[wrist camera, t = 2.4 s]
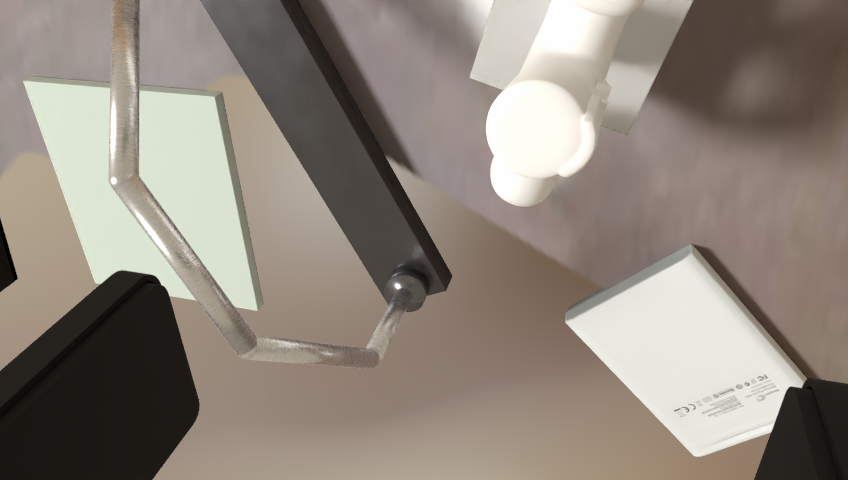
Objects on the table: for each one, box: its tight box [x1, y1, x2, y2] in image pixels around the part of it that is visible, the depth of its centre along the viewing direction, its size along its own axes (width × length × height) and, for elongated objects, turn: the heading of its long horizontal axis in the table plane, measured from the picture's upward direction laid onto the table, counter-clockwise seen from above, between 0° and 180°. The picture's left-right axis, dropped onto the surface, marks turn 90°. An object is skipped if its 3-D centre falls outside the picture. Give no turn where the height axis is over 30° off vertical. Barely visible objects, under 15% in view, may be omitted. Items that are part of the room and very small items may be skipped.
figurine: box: [470, 0, 693, 206], centre depth 24 cm, size 7×9×15 cm
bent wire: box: [109, 0, 452, 369], centre depth 31 cm, size 22×4×14 cm, turn 28°
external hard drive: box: [565, 244, 807, 457], centre depth 38 cm, size 2×8×12 cm
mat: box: [23, 76, 263, 311], centre depth 43 cm, size 15×13×1 cm
